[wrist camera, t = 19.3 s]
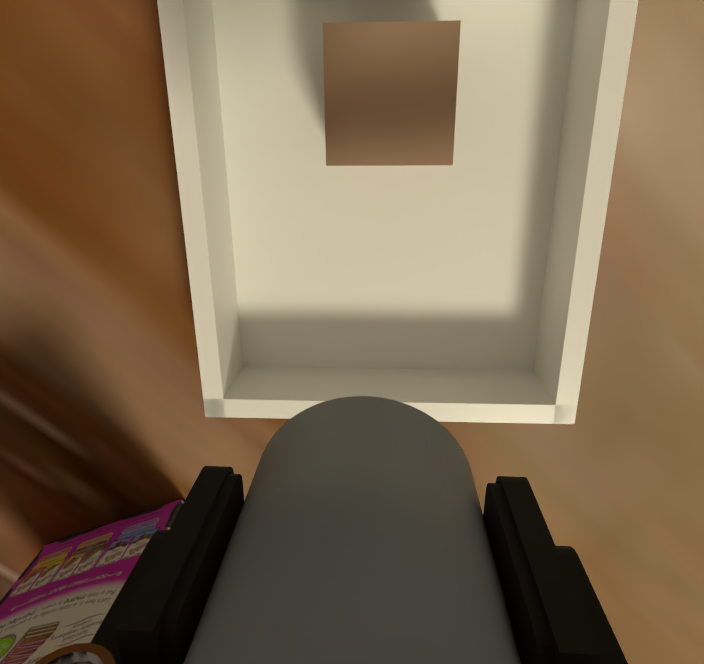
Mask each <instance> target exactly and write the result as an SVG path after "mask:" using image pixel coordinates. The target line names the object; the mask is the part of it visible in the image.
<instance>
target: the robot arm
mask: <svg viewBox="0 0 704 664" xmlns="http://www.w3.org/2000/svg"><path fill="white" fill-rule="evenodd" d="M243 504H244V494H243V481H242V476H241V475H240V474H234V471H233V469H232V467H219V466H205V467H203V469H202V470H201V472H200V474H199V476H198V478H197V480H196V481H195V483H194V485H193V487H192V489H191V491H190V492H189V494H188V496H187V498H186V500H185V502H184V504H183V505H182V507H181V509H180V511H179V513H178V515H177V516H176V518H175V520H174V522H173V524H172V526H171V528H170V529H169V530H158V531H156V532H155V533H154V534H153V535H152V537H151V538H150V540H149V542H148V543H147V545H146V547H145V549H144V550H143V552H142V554H141V556H140V557H139V559H138V561H137V562H136V564H135V566H134V568H133V569H132V571H131V573H130V575H129V576H128V578H127V580H126V582H125V583H124V585H123V587H122V588H121V590H120V592H119V594H118V595H117V597H116V599H115V601H114V602H113V604H112V606H111V608H110V609H109V611H108V613H107V615H106V616H105V618H104V620H103V621H102V623H101V625H100V627H99V628H98V630H97V632H96V634H95V635H94V637H93V639H92V641H91V642H90V643H77V644H72V645H69V646H66V647H62V648H59V649H57V650H55V651H54V652H52V653H50V654H48V655H46V656H44V657H43V658H41V659H40V660H39V661H37V662H36V663H35V664H183V663H184V660H185V658H186V655H187V652H188V650H189V647H190V644H191V642H192V639H193V636H194V634H195V631H196V628H197V626H198V623H199V621H200V618H201V615H202V613H203V610H204V607H205V605H206V602H207V599H208V597H209V594H210V591H211V589H212V586H213V583H214V581H215V578H216V576H217V573H218V570H219V568H220V565H221V562H222V560H223V557H224V554H225V552H226V549H227V546H228V544H229V541H230V539H231V536H232V533H233V531H234V528H235V525H236V523H237V520H238V517H239V515H240V512H241V509H242V507H243ZM483 518H484V522H485V525H486V529H487V533H488V537H489V541H490V544H491V548H492V552H493V556H494V560H495V564H496V567H497V571H498V575H499V579H500V583H501V587H502V590H503V594H504V598H505V602H506V606H507V610H508V613H509V617H510V621H511V625H512V629H513V633H514V636H515V640H516V644H517V648H518V652H519V655H520V659H521V663H522V664H628V663H627V661H626V659H625V656H624V654H623V652H622V650H621V648H620V646H619V643H618V641H617V639H616V637H615V635H614V633H613V630H612V628H611V626H610V624H609V622H608V620H607V617H606V615H605V613H604V611H603V609H602V607H601V604H600V602H599V600H598V598H597V596H596V594H595V591H594V589H593V587H592V585H591V583H590V581H589V578H588V576H587V574H586V572H585V570H584V567H583V565H582V563H581V561H580V559H579V557H578V555H577V553H576V551H575V550H574V549H573V548H572V547H571V546H555V544H554V542H553V539H552V537H551V534H550V532H549V530H548V527H547V525H546V522H545V520H544V518H543V515H542V513H541V510H540V508H539V506H538V503H537V501H536V498H535V496H534V493H533V491H532V489H531V486H530V484H529V481H528V480H527V478H525V477H506V476H498V477H497V479H496V483H488V484H487V487H486V495H485V505H484V514H483Z"/></svg>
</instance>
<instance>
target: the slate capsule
mask: <svg viewBox="0 0 704 664" xmlns="http://www.w3.org/2000/svg"><path fill="white" fill-rule="evenodd" d="M183 664H522V663H521V659H520V655H519V652H518V648H517V644H516V640H515V636H514V633H513V629H512V625H511V621H510V617H509V613H508V610H507V606H506V602H505V598H504V594H503V590H502V587H501V583H500V579H499V575H498V571H497V567H496V564H495V560H494V556H493V552H492V548H491V544H490V541H489V537H488V533H487V529H486V525H485V522H484V518H483V514H482V510H481V506H480V502H479V499H478V495H477V491H476V487H475V483H474V479H473V476H472V472H471V469H470V465H469V462H468V460H467V458H466V456H465V453H464V451H463V449H462V448H461V446H460V445H459V443H458V442H457V441H456V439H455V438H454V437H453V436H452V435H451V433H450V432H449V431H448V430H447V429H446V428H445V427H444V426H442V425H441V424H440V423H439V422H438V421H437V420H435V419H434V418H432V417H431V416H429V415H428V414H426V413H424V412H423V411H421V410H419V409H417V408H415V407H412V406H410V405H408V404H405V403H402V402H399V401H396V400H391V399H386V398H382V397H372V396H349V397H343V398H336V399H332V400H328V401H325V402H321V403H319V404H316V405H314V406H311V407H309V408H307V409H305V410H303V411H302V412H300V413H298V414H297V415H295V416H294V417H292V418H291V419H290V420H289V421H287V422H286V423H285V424H284V425H283V426H282V427H281V428H280V429H279V430H278V431H277V432H276V433H275V434H274V436H273V437H272V438H271V440H270V441H269V443H268V444H267V446H266V448H265V450H264V452H263V454H262V457H261V459H260V462H259V464H258V467H257V470H256V472H255V475H254V478H253V480H252V483H251V486H250V488H249V491H248V494H247V496H246V499H245V501H244V504H243V507H242V509H241V512H240V515H239V517H238V520H237V523H236V525H235V528H234V531H233V533H232V536H231V539H230V541H229V544H228V546H227V549H226V552H225V554H224V557H223V560H222V562H221V565H220V568H219V570H218V573H217V576H216V578H215V581H214V583H213V586H212V589H211V591H210V594H209V597H208V599H207V602H206V605H205V607H204V610H203V613H202V615H201V618H200V621H199V623H198V626H197V628H196V631H195V634H194V636H193V639H192V642H191V644H190V647H189V650H188V652H187V655H186V658H185V660H184V663H183Z"/></svg>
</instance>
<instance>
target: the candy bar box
mask: <svg viewBox="0 0 704 664" xmlns="http://www.w3.org/2000/svg"><path fill="white" fill-rule="evenodd" d="M183 504H184V501H183V500H182V499H181V500H176V501H174V502H171V503H168V504H165V505H162V506H159V507H156V508H153V509H150V510H148V511H145V512H142V513H139V514H136V515H133V516H130V517H128V518H125V519H122V520H119V521H116V522H113V523H110V524H107V525H104V526H101V527H98V528H95V529H92V530H89V531H86V532H84V533H81V534H78V535H75V536H72V537H69V538H66V539H63V540H60V541H57V542H54V543H51V544H48V545H45V546H43V547H42V549H41V551H40V552H39V553H38V555H37V556H36V557H35V558H34V560H33V561H32V562H31V563H30V564H29V566H28V567H27V568H26V569H25V571H24V572H23V573H22V575H21V576H20V577H19V578H18V580H17V581H16V582H15V583H14V584H13V586H12V587H11V588H10V590H9V591H8V592H7V594H6V595H5V596H4V597H3V599H2V600H1V601H0V664H35V663H36V662H37V661H39V660H40V659H41V658H43V657H44V656H46V655H48V654H50V653H52V652H54V651H55V650H57V649H59V648H62V647H66V646H69V645H72V644H77V643H90V642H91V641H92V639H93V637H94V635H95V634H96V632H97V630H98V628H99V627H100V625H101V623H102V621H103V620H104V618H105V616H106V615H107V613H108V611H109V609H110V608H111V606H112V604H113V602H114V601H115V599H116V597H117V595H118V594H119V592H120V590H121V588H122V587H123V585H124V583H125V582H126V580H127V578H128V576H129V575H130V573H131V571H132V569H133V568H134V566H135V564H136V562H137V561H138V559H139V557H140V556H141V554H142V552H143V550H144V549H145V547H146V545H147V543H148V542H149V540H150V538H151V537H152V535H153V534H154V533H155V532H156V531H158V530H169V529H170V528H171V526H172V524H173V522H174V520H175V518H176V516H177V515H178V513H179V511H180V509H181V507H182V505H183Z"/></svg>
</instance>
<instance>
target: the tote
mask: <svg viewBox="0 0 704 664" xmlns="http://www.w3.org/2000/svg"><path fill="white" fill-rule="evenodd" d="M157 4H158V13H159V21H160V30H161V39H162V47H163V56H164V64H165V73H166V82H167V90H168V99H169V108H170V116H171V125H172V133H173V142H174V151H175V159H176V168H177V177H178V185H179V194H180V202H181V211H182V220H183V228H184V237H185V245H186V254H187V263H188V271H189V280H190V289H191V297H192V306H193V314H194V323H195V332H196V340H197V349H198V358H199V366H200V375H201V383H202V392H203V401H204V409H205V417H237V418H289V419H291V418H292V417H294V416H295V415H297V414H298V413H300V412H302V411H303V410H305V409H307V408H309V407H311V406H314V405H316V404H319V403H321V402H325V401H328V400H332V399H336V398H343V397H349V396H372V397H382V398H386V399H391V400H396V401H399V402H402V403H405V404H408V405H410V406H412V407H415V408H417V409H419V410H421V411H423V412H424V413H426V414H428V415H429V416H431V417H432V418H434V419H435V420H437V421H444V422H495V423H547V424H574V423H575V417H576V410H577V403H578V397H579V390H580V383H581V377H582V370H583V363H584V357H585V350H586V344H587V337H588V330H589V324H590V317H591V310H592V304H593V297H594V291H595V284H596V277H597V271H598V264H599V257H600V251H601V244H602V238H603V231H604V224H605V218H606V211H607V204H608V198H609V191H610V184H611V178H612V171H613V165H614V158H615V151H616V145H617V138H618V131H619V125H620V118H621V112H622V105H623V98H624V92H625V85H626V78H627V72H628V65H629V59H630V52H631V45H632V39H633V32H634V25H635V19H636V12H637V5H638V0H157ZM455 20H461V26H460V44H459V62H458V80H457V98H456V116H455V134H454V153H453V165H402V166H326V143H325V99H324V54H323V23H347V22H401V21H455Z"/></svg>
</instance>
